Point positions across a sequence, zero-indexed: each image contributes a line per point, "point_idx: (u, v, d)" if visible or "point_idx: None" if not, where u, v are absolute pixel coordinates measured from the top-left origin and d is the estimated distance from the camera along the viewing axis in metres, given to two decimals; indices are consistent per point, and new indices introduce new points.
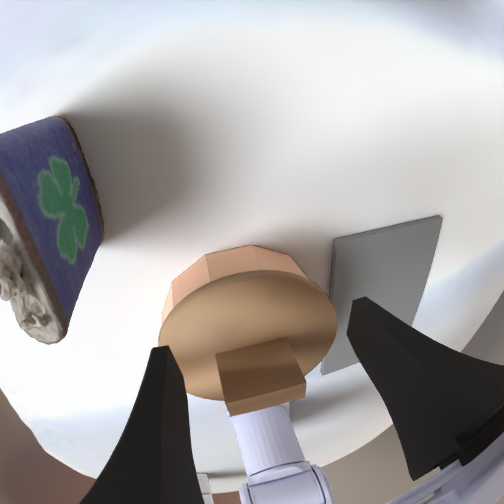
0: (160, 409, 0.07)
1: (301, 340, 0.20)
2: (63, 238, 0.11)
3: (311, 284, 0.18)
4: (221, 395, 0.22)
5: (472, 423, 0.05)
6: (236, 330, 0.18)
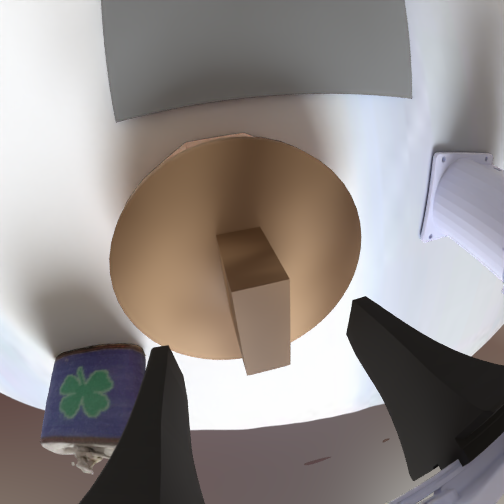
0: (160, 409, 0.07)
1: (234, 207, 0.12)
2: (91, 408, 0.15)
3: (123, 209, 0.12)
4: (328, 299, 0.17)
5: (472, 423, 0.05)
6: (190, 298, 0.14)
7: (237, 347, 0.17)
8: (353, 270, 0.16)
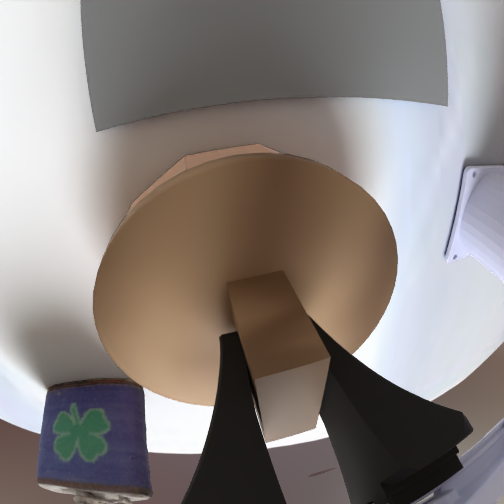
0: (249, 393, 0.07)
1: (251, 248, 0.09)
2: (87, 451, 0.13)
3: None
4: (353, 341, 0.14)
5: (395, 475, 0.04)
6: (194, 351, 0.11)
7: None
8: (384, 309, 0.13)
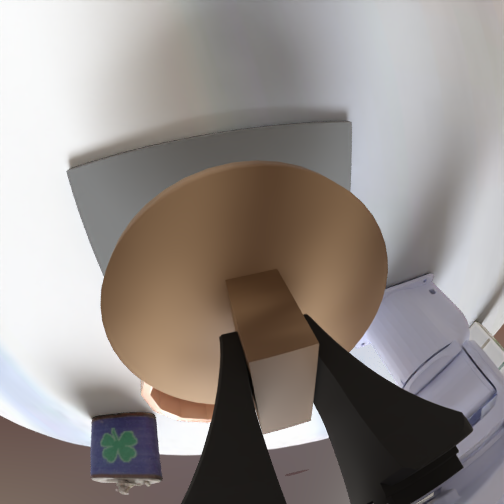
0: (249, 393, 0.07)
1: (247, 248, 0.10)
2: (124, 456, 0.24)
3: (114, 250, 0.10)
4: (348, 339, 0.14)
5: (395, 475, 0.04)
6: (195, 347, 0.12)
7: None
8: (377, 308, 0.14)
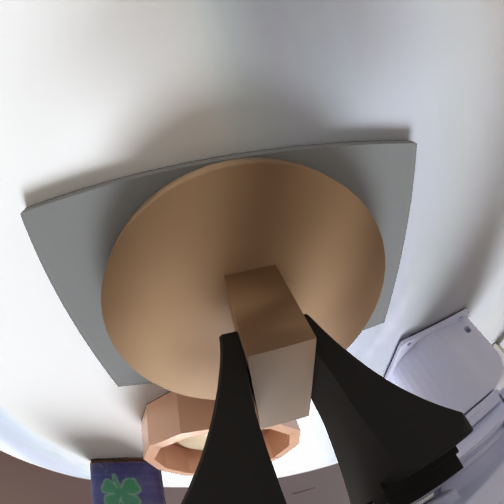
0: (249, 393, 0.07)
1: (246, 243, 0.10)
2: None
3: (114, 246, 0.10)
4: (346, 335, 0.15)
5: (394, 475, 0.04)
6: (194, 342, 0.12)
7: None
8: (374, 304, 0.14)
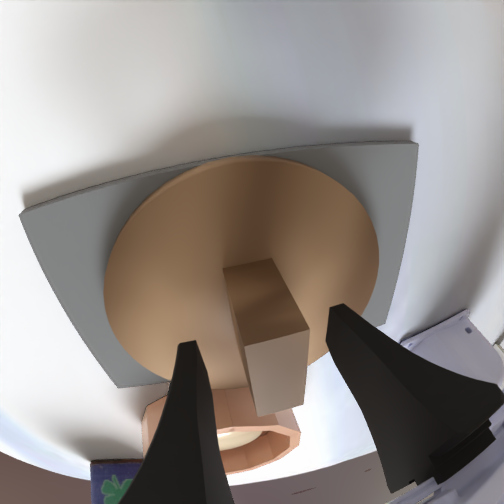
0: (195, 404, 0.07)
1: (243, 238, 0.11)
2: None
3: (116, 240, 0.10)
4: None
5: (446, 443, 0.04)
6: (193, 333, 0.13)
7: (244, 377, 0.16)
8: (368, 297, 0.14)
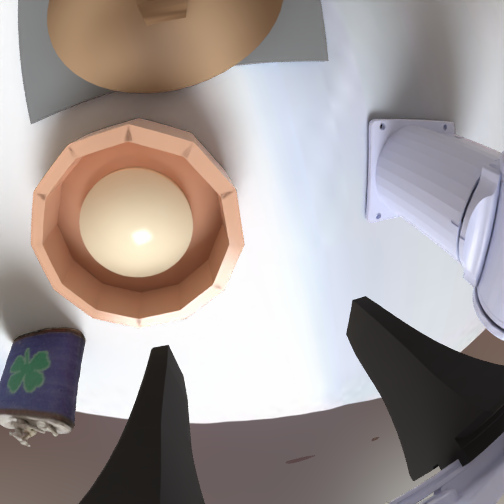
0: (160, 409, 0.07)
1: None
2: (29, 384, 0.15)
3: None
4: (259, 19, 0.11)
5: (473, 423, 0.05)
6: (109, 8, 0.09)
7: (153, 72, 0.12)
8: None
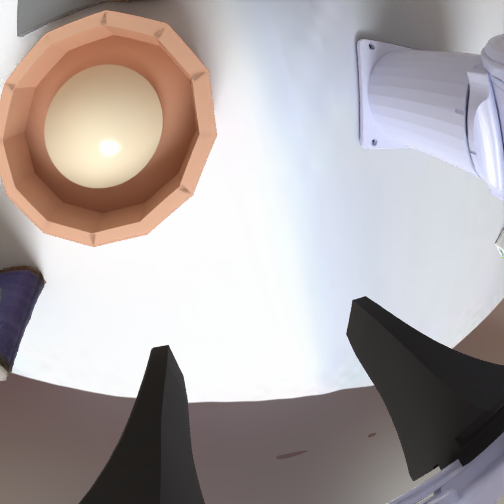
0: (160, 409, 0.07)
1: None
2: None
3: None
4: None
5: (472, 423, 0.05)
6: None
7: None
8: None
